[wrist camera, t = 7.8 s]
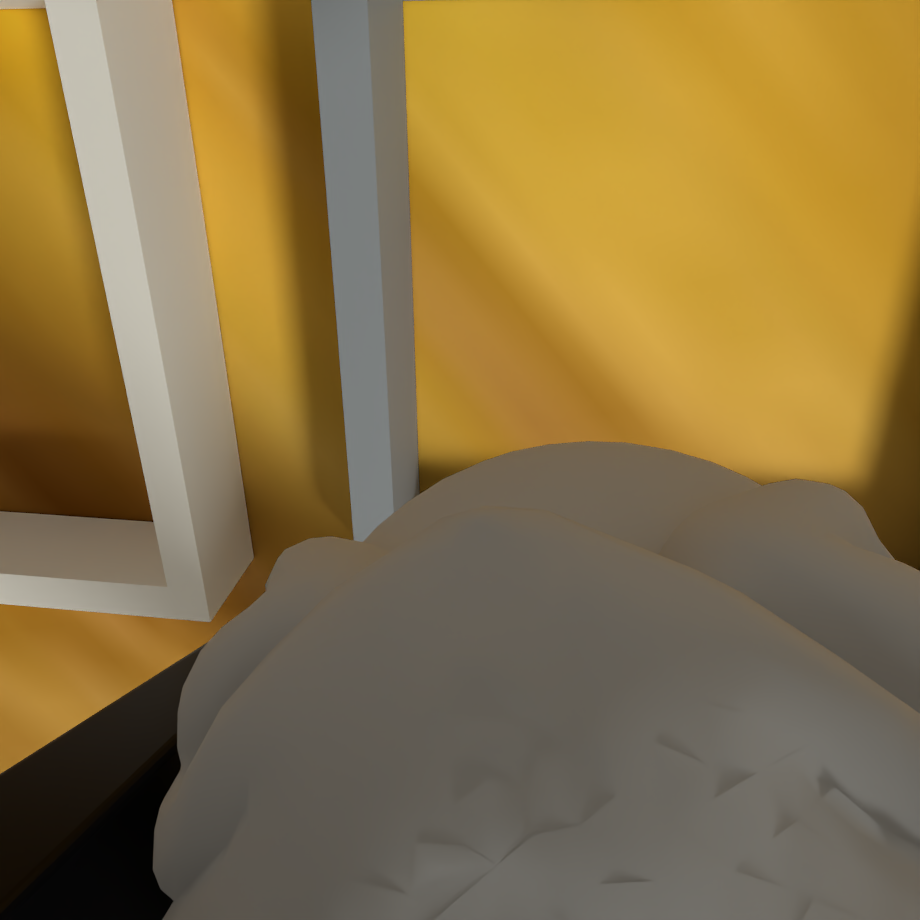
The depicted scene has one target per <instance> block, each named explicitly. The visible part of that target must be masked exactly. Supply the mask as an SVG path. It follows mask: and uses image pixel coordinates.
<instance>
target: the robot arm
mask: <svg viewBox="0 0 920 920" xmlns="http://www.w3.org/2000/svg"><path fill="white" fill-rule="evenodd" d="M207 643H208V642H207ZM207 643H206V644H207ZM206 644H204V645H203V646H201V647H200V648H198V649H196V650H195V651H193V652H192V653H190V654H189V655H187V656H185V657H184V658H182V659H181V660H179V661H177V662H176V663H174V664H173V665H171V666H170V667H168V668H166V669H165V670H163V671H162V672H160V673H159V674H157V675H155V676H154V677H152V678H151V679H149V680H148V681H146V682H144V683H143V684H141V685H140V686H138V687H137V688H135V689H133V690H132V691H130V692H129V693H127V694H126V695H124V696H122V697H121V698H119V699H118V700H116V701H115V702H113V703H111V704H110V705H108V706H107V707H105V708H103V709H102V710H100V711H99V712H97V713H96V714H94V715H92V716H91V717H89V718H88V719H86V720H85V721H83V722H81V723H80V724H78V725H77V726H75V727H74V728H72V729H70V730H69V731H67V732H66V733H64V734H63V735H61V736H59V737H58V738H56V739H55V740H53V741H52V742H50V743H48V744H47V745H45V746H44V747H42V748H41V749H39V750H37V751H36V752H34V753H33V754H31V755H29V756H28V757H26V758H25V759H23V760H22V761H20V762H18V763H17V764H15V765H14V766H12V767H11V768H9V769H7V770H6V771H4V772H3V773H1V774H0V920H162V919H163V918H164V916H165V914H166V913H167V911H168V909H169V908H170V906H171V904H172V903H173V900H172V899H171V898H170V897H169V896H168V895H167V894H165V893H164V892H163V891H162V890H161V889H160V887H159V884H158V882H157V879H156V877H155V874H154V872H153V849H154V829H155V825H156V821H157V817H158V813H159V809H160V806H161V804H162V802H163V799H164V797H165V796H166V794H167V792H168V790H169V789H170V787H171V785H172V784H173V782H174V780H175V778H176V777H177V775H178V773H179V771H180V769H181V762H180V758H179V753H178V749H177V722H178V708H179V703H180V698H181V693H182V688H183V685H184V683H185V681H186V679H187V677H188V675H189V673H190V671H191V669H192V667H193V665H194V663H195V661H196V659H197V657H198V655H199V653H200V651H201V650H202V649H203V648H204V646H205V645H206Z"/></svg>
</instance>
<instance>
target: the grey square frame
mask: <svg viewBox="0 0 920 920" xmlns="http://www.w3.org/2000/svg"><path fill="white" fill-rule="evenodd" d="M403 1H423V0H311V5H312V18H313V30H314V43H315V56H316V68H317V81H318V94H319V106H320V119H321V132H322V144H323V157H324V170H325V182H326V195H327V208H328V220H329V233H330V246H331V258H332V271H333V284H334V296H335V309H336V322H337V334H338V347H339V360H340V372H341V385H342V398H343V410H344V423H345V436H346V448H347V461H348V474H349V486H350V499H351V512H352V524H353V537H354V541H359V542H363V541H364V540H365V539H366V538H367V537H368V536H369V535H370V534H371V533H372V531H373V530H374V529H375V528H376V527H377V526H378V525H380V524H381V523H382V522H383V521H384V520H386V519H387V518H388V517H389V516H391V515H392V514H393V513H394V512H396V511H397V510H398V509H399V508H401V507H402V506H403V505H404V504H406V503H407V502H408V501H410V500H411V499H413V498H414V497H416V496H417V495H419V494H420V493H419V464H418V435H417V406H416V377H415V347H414V318H413V289H412V260H411V230H410V201H409V172H408V143H407V113H406V84H405V55H404V26H403Z"/></svg>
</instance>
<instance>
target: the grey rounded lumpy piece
mask: <svg viewBox="0 0 920 920" xmlns="http://www.w3.org/2000/svg"><path fill="white" fill-rule="evenodd" d="M265 587H266V592H264V593H263V594H262V595H261V596H260V597H259V598H258V599H257V600H256V601H255V602H254V603H253V604H252V605H251V606H249V607H248V608H247V609H245V610H244V611H243V612H241V613H240V614H239V615H237V616H236V617H235V618H233V619H232V620H231V621H229V622H228V623H227V624H225V625H224V626H223V627H222V628H221V629H220V630H219V631H218V632H217V633H216V634H215V635H214V636H213V638H212V639H211V640H210V641H209V642H208V643H207V644H206V645H205V646H204V648H203V649H202V650H201V651H200V653H199V655H198V657H197V659H196V661H195V663H194V665H193V667H192V669H191V671H190V673H189V675H188V677H187V679H186V681H185V683H184V685H183V688H182V693H181V698H180V703H179V708H178V722H177V749H178V753H179V758H180V762H181V769H180V771H179V773H178V775H177V777H176V778H175V780H174V782H173V784H172V785H171V787H170V789H169V790H168V792H167V794H166V796H165V797H164V799H163V802H162V804H161V806H160V809H159V813H158V817H157V821H156V825H155V829H154V849H153V872H154V874H155V877H156V879H157V882H158V884H159V887H160V889H161V890H162V891H163V892H164V893H165V894H167V895H168V896H169V897H170V898H171V899H172V900H173V903H172V904H171V906H170V908H169V909H168V911H167V913H166V914H165V916H164V918H163V919H162V920H920V571H919V570H917V569H915V568H913V567H911V566H909V565H907V564H905V563H903V562H900V561H897V560H895V559H894V558H893V556H892V555H891V554H890V553H889V551H888V550H887V549H886V548H885V546H884V545H883V544H882V543H881V541H880V540H879V538H878V536H877V534H876V532H875V530H874V528H873V526H872V524H871V522H870V520H869V518H868V516H867V514H866V512H865V510H864V508H863V507H862V506H861V505H860V504H859V503H858V502H857V501H855V500H854V499H853V498H852V497H851V496H850V495H849V494H848V493H847V492H846V491H844V490H842V489H839V488H837V487H835V486H833V485H830V484H827V483H820V482H814V481H808V480H801V479H792V480H786V481H781V482H775V483H769V484H766V485H763V486H762V485H760V484H758V483H756V482H754V481H753V480H751V479H749V478H747V477H745V476H743V475H741V474H738V473H736V472H734V471H732V470H729V469H727V468H725V467H722V466H720V465H718V464H716V463H713V462H710V461H707V460H703V459H700V458H696V457H693V456H690V455H686V454H683V453H679V452H676V451H672V450H667V449H661V448H655V447H649V446H643V445H637V444H631V443H622V442H590V441H586V442H573V443H561V444H549V445H543V446H538V447H533V448H528V449H523V450H518V451H513V452H509V453H506V454H503V455H500V456H497V457H494V458H491V459H488V460H485V461H482V462H480V463H478V464H476V465H473V466H471V467H469V468H467V469H464V470H462V471H460V472H458V473H455V474H453V475H451V476H449V477H446V478H444V479H442V480H441V481H439V482H438V483H436V484H435V485H433V486H431V487H430V488H428V489H427V490H425V491H424V492H422V493H421V494H419V495H417V496H416V497H414V498H413V499H411V500H410V501H408V502H407V503H406V504H404V505H403V506H402V507H401V508H399V509H398V510H397V511H396V512H394V513H393V514H392V515H391V516H389V517H388V518H387V519H386V520H384V521H383V522H382V523H381V524H380V525H378V526H377V527H376V528H375V529H374V530H373V531H372V533H371V534H370V535H369V536H368V537H367V538H366V539H365V540H364V541H363V542H359V541H354V540H349V539H344V538H338V537H333V536H328V537H319V538H309V539H307V540H305V541H302V542H300V543H298V544H296V545H294V546H292V547H289V548H287V549H285V550H284V551H283V552H282V554H281V555H280V556H279V557H278V559H277V561H276V563H275V565H274V567H273V569H272V571H271V574H270V576H269V578H268V580H267V582H266V584H265Z"/></svg>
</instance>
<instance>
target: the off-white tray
mask: <svg viewBox="0 0 920 920" xmlns="http://www.w3.org/2000/svg"><path fill="white" fill-rule="evenodd" d="M29 8H46V10H47V15H48V20H49V24H50V29H51V34H52V39H53V44H54V48H55V53H56V58H57V63H58V67H59V72H60V77H61V82H62V87H63V91H64V96H65V101H66V106H67V110H68V115H69V120H70V125H71V130H72V134H73V139H74V144H75V149H76V153H77V158H78V163H79V168H80V172H81V177H82V182H83V187H84V192H85V196H86V201H87V206H88V211H89V215H90V220H91V225H92V230H93V235H94V239H95V244H96V249H97V254H98V258H99V263H100V268H101V273H102V278H103V282H104V287H105V292H106V297H107V301H108V306H109V311H110V316H111V321H112V325H113V330H114V335H115V340H116V344H117V349H118V354H119V359H120V363H121V368H122V373H123V378H124V383H125V387H126V392H127V397H128V402H129V406H130V411H131V416H132V421H133V426H134V430H135V435H136V440H137V445H138V449H139V454H140V459H141V464H142V469H143V473H144V478H145V483H146V488H147V492H148V497H149V502H150V507H151V512H152V516H153V521H154V522H146V521H132V520H118V519H104V518H89V517H75V516H61V515H47V514H32V513H18V512H4V511H0V604H9V605H21V606H32V607H44V608H55V609H67V610H78V611H90V612H101V613H113V614H124V615H136V616H147V617H159V618H170V619H182V620H193V621H205V622H211V620H212V619H213V618H214V616H215V615H216V613H217V612H218V610H219V609H220V607H221V606H222V604H223V603H224V601H225V600H226V598H227V597H228V595H229V594H230V593H231V591H232V590H233V588H234V587H235V585H236V584H237V582H238V581H239V579H240V578H241V576H242V575H243V573H244V572H245V570H246V569H247V567H248V566H249V565H250V563H251V562H252V560H253V559H254V555H253V549H252V542H251V535H250V528H249V521H248V515H247V508H246V501H245V494H244V487H243V481H242V474H241V467H240V460H239V453H238V447H237V440H236V433H235V426H234V419H233V413H232V406H231V399H230V392H229V385H228V379H227V372H226V365H225V358H224V351H223V345H222V338H221V331H220V324H219V317H218V311H217V304H216V297H215V290H214V283H213V277H212V270H211V263H210V256H209V249H208V243H207V236H206V229H205V222H204V215H203V209H202V202H201V195H200V188H199V181H198V175H197V168H196V161H195V154H194V147H193V141H192V134H191V127H190V120H189V113H188V107H187V100H186V93H185V86H184V79H183V73H182V66H181V59H180V52H179V45H178V39H177V32H176V25H175V18H174V11H173V5H172V0H0V9H29Z"/></svg>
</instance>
